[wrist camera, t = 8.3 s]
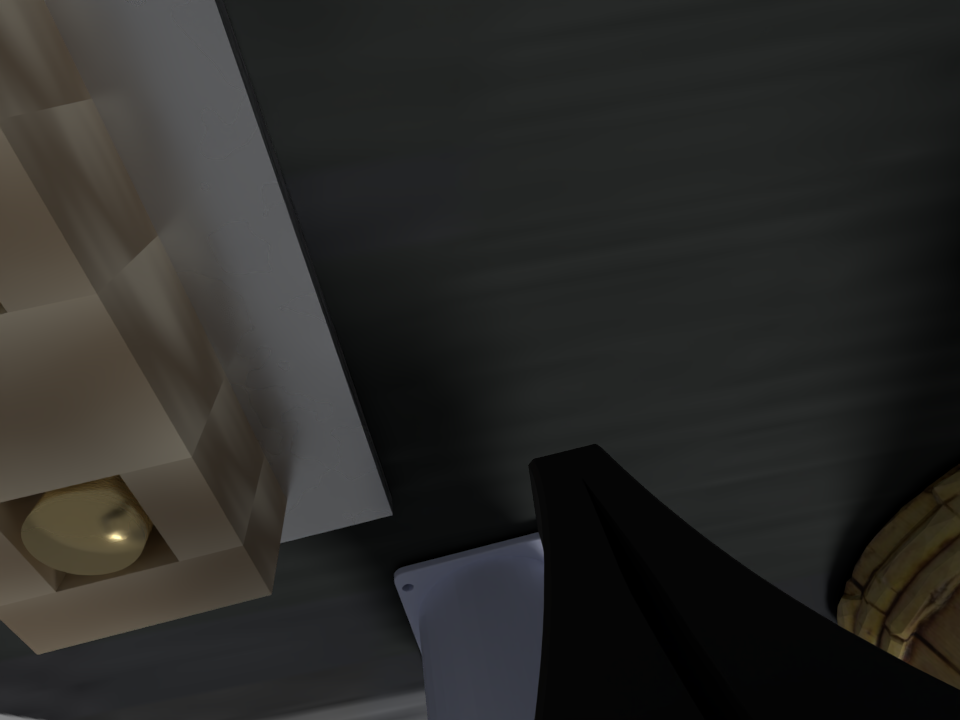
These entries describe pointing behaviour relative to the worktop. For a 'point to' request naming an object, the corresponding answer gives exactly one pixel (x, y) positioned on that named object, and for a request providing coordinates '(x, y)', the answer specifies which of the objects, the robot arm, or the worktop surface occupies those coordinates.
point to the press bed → (232, 240)
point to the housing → (108, 373)
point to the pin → (87, 528)
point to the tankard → (913, 584)
